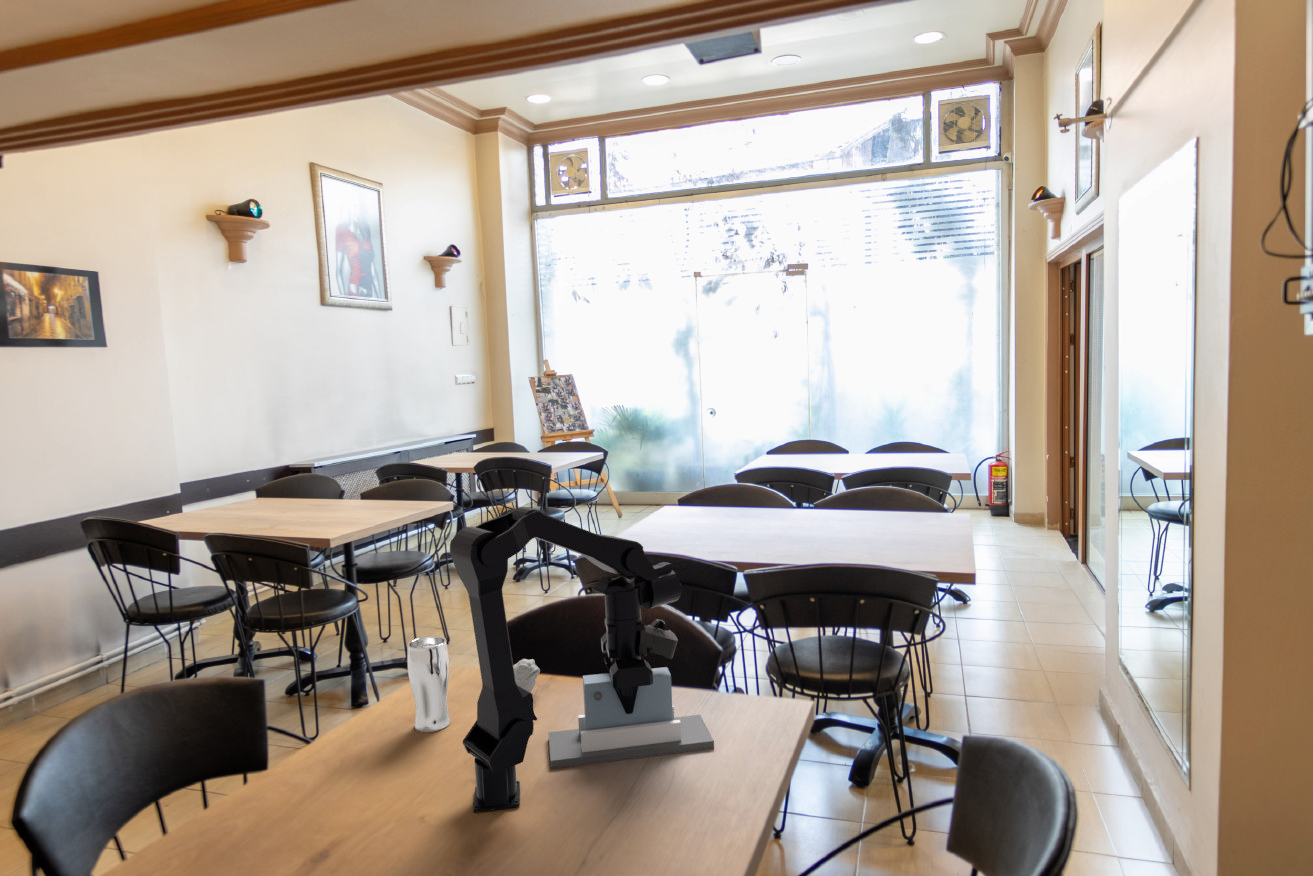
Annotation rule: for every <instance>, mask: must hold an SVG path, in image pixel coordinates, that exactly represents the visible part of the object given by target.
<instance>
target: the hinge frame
mask: <svg viewBox="0 0 1313 876" xmlns="http://www.w3.org/2000/svg"><path fill="white" fill-rule="evenodd" d="M672 713H673V721H664V722H656V723H647V724H639V725H630V726H622V727H613V728H605V729H596V730H588V731H586V730H585V714H579V715H577V720H578V723H577V724H578V728H575V729H566V730H557V731H549V732H548V747H549V760H550V769H556V768H564V767H571V766H572V767H573V766H581V765H588V764H589V765H590V764H596V763H603V762H604V763H605V762H612V761H619V760H620V761H621V760H629V759H637V758H645V757H652V756H661V755H668V754H677V753H685V752H693V751H701V750H709V749H715V740H714V738H713V736H712V734H711V733H710V731H709V729H708V727H707V725H706V723H705V721H704V719H703V718H702V716H701V714H695V715H694V714H693V715H685V716H679V717H677V716H675V707H674V704H672Z"/></svg>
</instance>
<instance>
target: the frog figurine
mask: <svg viewBox="0 0 1313 876" xmlns="http://www.w3.org/2000/svg"><path fill="white" fill-rule="evenodd" d="M513 668H514V674H515V681H516V684H517V685H518V686H519V687H521V688H523V689H525V690H527V691H528V692H530V693H532V691H533V690H534V688H535V686H536V683H537V681H536V680H537V678H538V676H539V675H540V672H541V669H540V668H539V667H538V666H537V664H536V662H535V659H533V658H531V659H527V658H522V659H520V660H518V662H517V663H515V664H513Z"/></svg>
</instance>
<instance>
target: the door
mask: <svg viewBox="0 0 1313 876" xmlns="http://www.w3.org/2000/svg"><path fill="white" fill-rule="evenodd" d="M651 669H652V671H653V684H651V685H646V686H639V687H638V691H637V695H636V700H635V705H634V710H633V713H632V714H626V713H625V710H624V708H623V706H622V704H621V702H620V699H619V697H618V695H617V693H616V691H615V689H614V688H613V686H612V683H611V680H610V677H609V675H610V673H609V672H607V673H598V674H587V675H582V689H583V706H584V707H583V708H584V709H583V710H584V715H585V730H586V731H588V730H596V729H605V728H613V727H622V726H630V725H639V724H647V723H656V722H664V721H673V713H672V705H673V698H672V697H673V694H672V674H671V672H670V670H669V668H668V667H667V666H665V667H655V668H651Z"/></svg>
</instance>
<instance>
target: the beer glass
mask: <svg viewBox="0 0 1313 876" xmlns="http://www.w3.org/2000/svg"><path fill="white" fill-rule="evenodd" d="M449 660H450V659H449V650H448V646H447V639H446V638H445V637H444V636H440V635H439V636H437V635H429V636H427V635H426V636H423V637H417V638H415V639H413V640H411V641H409V642H408V643H407V672H408V673H407V675H408V678H409V679H408V680H409V684H410V688H411V692H412V695H413V696H412V697H413V700H414V703H415V718H414V719H415V720H414V729H415V730H416V731H418V732H419V733H434V732H437V731H441V730H444V729H445V728H447V727H448V726H449V725H450V723H451V717H450V713H449V709H448V705H447V704H448V703H447V702H448V700H447V699H448V698H447V696H448V687H449V679H450V661H449Z"/></svg>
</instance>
